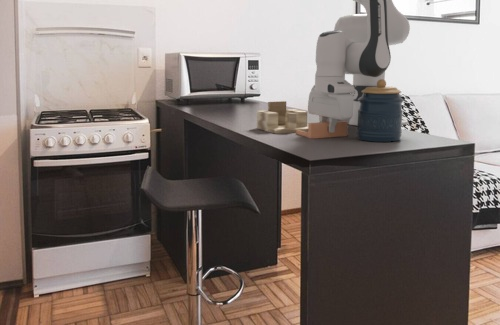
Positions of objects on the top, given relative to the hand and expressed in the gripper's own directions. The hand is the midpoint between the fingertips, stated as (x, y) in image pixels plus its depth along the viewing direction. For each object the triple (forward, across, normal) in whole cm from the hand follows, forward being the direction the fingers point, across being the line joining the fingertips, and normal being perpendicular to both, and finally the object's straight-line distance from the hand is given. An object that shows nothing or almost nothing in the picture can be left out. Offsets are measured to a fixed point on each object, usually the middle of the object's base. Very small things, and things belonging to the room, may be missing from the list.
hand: (328, 131), depth 150 cm
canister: (+2, +10, +12) cm, 15 cm away
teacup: (+2, -17, +13) cm, 21 cm away
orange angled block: (+2, -4, 0) cm, 4 cm away
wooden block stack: (+2, -19, -5) cm, 20 cm away
